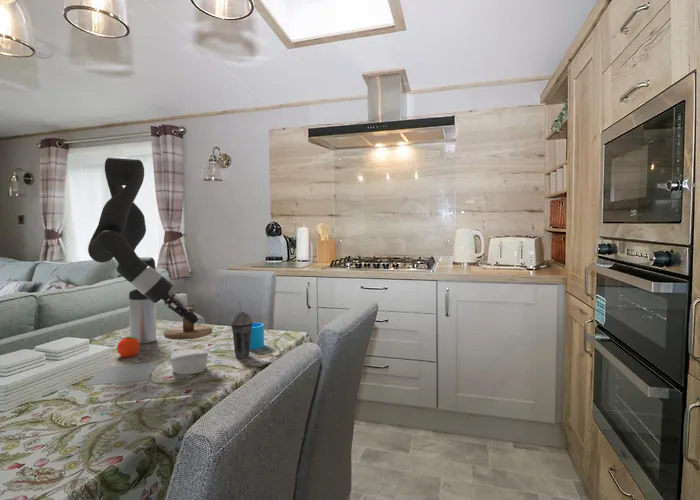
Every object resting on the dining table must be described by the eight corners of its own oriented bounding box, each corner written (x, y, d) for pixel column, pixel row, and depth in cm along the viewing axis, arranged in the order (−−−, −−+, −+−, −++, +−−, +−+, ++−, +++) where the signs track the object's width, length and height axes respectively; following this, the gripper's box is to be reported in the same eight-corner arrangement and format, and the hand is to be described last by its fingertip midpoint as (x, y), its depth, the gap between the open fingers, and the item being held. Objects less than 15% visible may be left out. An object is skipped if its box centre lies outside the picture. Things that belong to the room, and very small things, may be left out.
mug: (264, 348, 152) (264, 327, 151) (241, 350, 150) (241, 328, 149) (263, 340, 163) (263, 320, 163) (242, 341, 161) (242, 321, 161)
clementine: (129, 352, 147) (129, 332, 146) (146, 353, 145) (146, 334, 145) (112, 359, 139) (111, 338, 139) (130, 360, 138) (129, 340, 137)
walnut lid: (168, 329, 132) (167, 305, 132) (213, 327, 136) (213, 303, 136) (160, 341, 119) (159, 313, 119) (210, 337, 123) (210, 311, 122)
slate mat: (103, 368, 130) (103, 366, 130) (157, 364, 134) (157, 362, 134) (84, 387, 115) (84, 385, 115) (146, 381, 119) (146, 380, 119)
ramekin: (192, 379, 121) (191, 361, 121) (162, 374, 125) (161, 357, 125) (215, 367, 132) (215, 351, 132) (187, 363, 135) (187, 347, 135)
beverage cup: (256, 354, 144) (256, 298, 143) (245, 361, 137) (244, 302, 136) (239, 352, 147) (238, 297, 146) (227, 358, 140) (226, 301, 139)
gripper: (161, 277, 117) (206, 316, 123) (161, 272, 130) (202, 307, 136) (141, 297, 115) (188, 335, 121) (143, 290, 128) (185, 324, 134)
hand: (195, 320), depth 128 cm, fingers closed on walnut lid, 3 cm apart
